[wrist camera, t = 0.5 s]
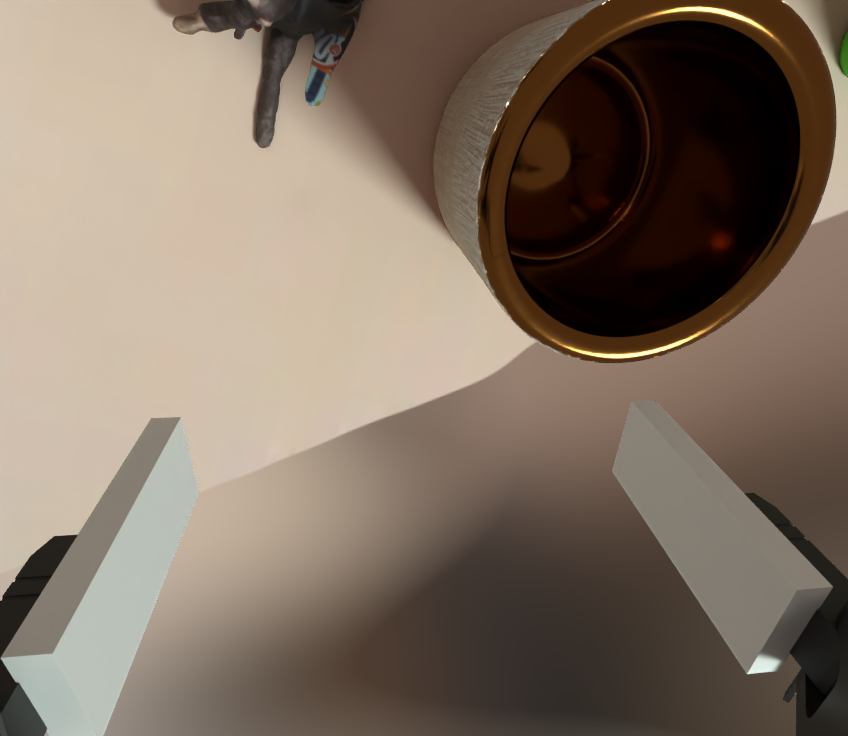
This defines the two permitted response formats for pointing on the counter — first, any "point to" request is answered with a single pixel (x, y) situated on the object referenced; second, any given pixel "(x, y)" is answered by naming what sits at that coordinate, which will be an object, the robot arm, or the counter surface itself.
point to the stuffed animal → (282, 42)
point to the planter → (637, 168)
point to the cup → (844, 55)
